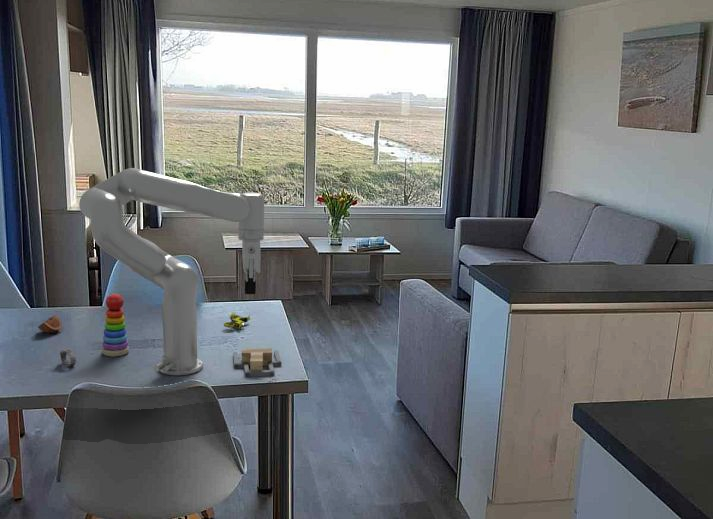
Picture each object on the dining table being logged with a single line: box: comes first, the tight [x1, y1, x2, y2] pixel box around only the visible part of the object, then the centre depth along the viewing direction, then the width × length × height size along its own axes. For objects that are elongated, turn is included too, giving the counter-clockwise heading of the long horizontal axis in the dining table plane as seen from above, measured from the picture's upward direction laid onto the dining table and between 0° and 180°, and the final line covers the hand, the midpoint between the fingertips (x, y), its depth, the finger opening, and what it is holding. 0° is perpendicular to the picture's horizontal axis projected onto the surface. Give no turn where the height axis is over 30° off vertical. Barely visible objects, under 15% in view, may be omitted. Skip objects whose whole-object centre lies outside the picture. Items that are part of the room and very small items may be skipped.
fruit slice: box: [37, 314, 63, 334], centre depth 227 cm, size 8×7×5 cm
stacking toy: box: [101, 293, 130, 358], centre depth 209 cm, size 8×8×19 cm
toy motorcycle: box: [223, 312, 251, 329], centre depth 240 cm, size 12×4×7 cm
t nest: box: [232, 349, 282, 378], centre depth 205 cm, size 17×14×1 cm
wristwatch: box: [59, 347, 77, 367], centre depth 200 cm, size 4×6×5 cm, turn 51°
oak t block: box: [241, 348, 273, 371], centre depth 203 cm, size 10×9×4 cm
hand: (250, 293), depth 210 cm, fingers closed
